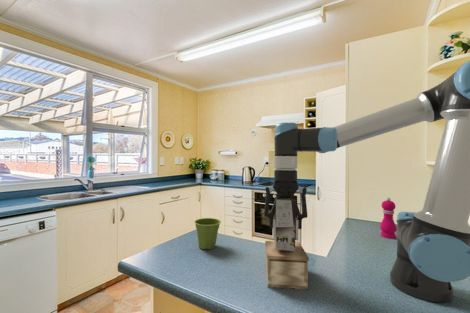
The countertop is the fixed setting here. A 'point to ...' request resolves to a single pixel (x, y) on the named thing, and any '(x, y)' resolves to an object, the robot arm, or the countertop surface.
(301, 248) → the lid
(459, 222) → the robot arm
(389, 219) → the pepper mill
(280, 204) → the coffee box
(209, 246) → the plant pot
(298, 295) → the countertop surface
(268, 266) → the box
